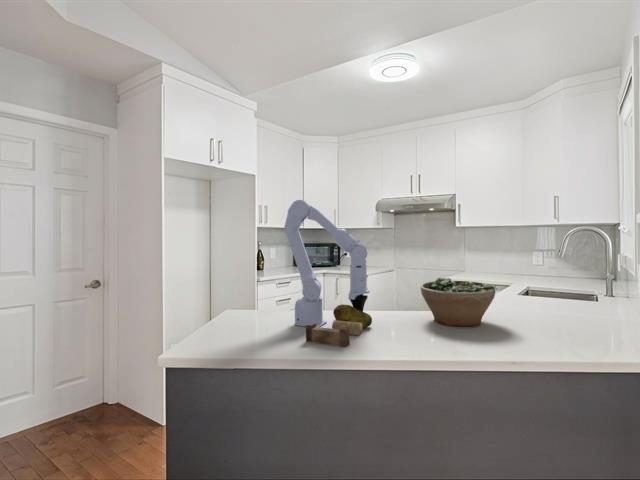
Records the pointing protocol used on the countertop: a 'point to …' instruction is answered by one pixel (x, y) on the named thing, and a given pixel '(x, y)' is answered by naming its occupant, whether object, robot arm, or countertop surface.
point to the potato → (352, 315)
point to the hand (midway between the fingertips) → (358, 316)
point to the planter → (458, 301)
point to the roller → (354, 327)
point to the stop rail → (327, 335)
